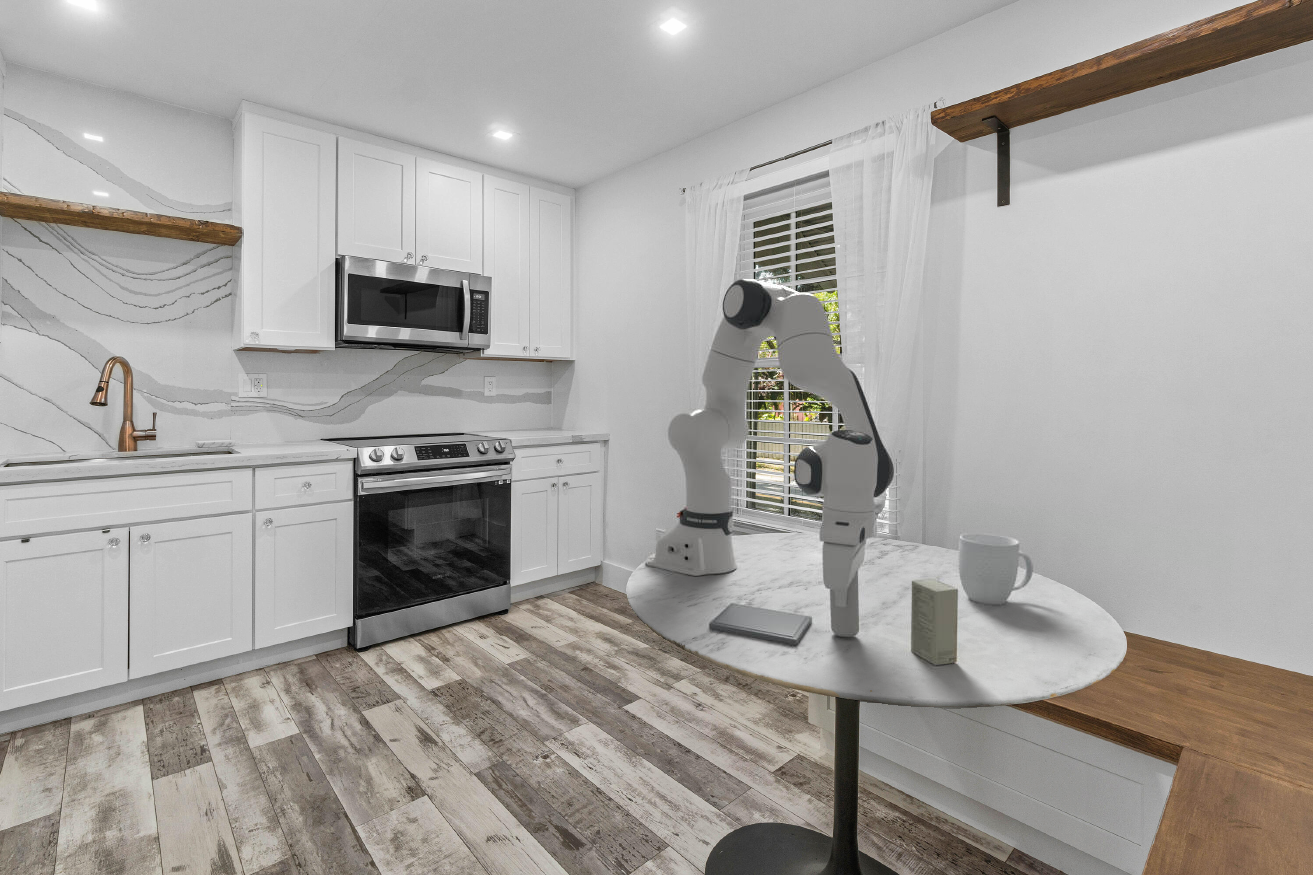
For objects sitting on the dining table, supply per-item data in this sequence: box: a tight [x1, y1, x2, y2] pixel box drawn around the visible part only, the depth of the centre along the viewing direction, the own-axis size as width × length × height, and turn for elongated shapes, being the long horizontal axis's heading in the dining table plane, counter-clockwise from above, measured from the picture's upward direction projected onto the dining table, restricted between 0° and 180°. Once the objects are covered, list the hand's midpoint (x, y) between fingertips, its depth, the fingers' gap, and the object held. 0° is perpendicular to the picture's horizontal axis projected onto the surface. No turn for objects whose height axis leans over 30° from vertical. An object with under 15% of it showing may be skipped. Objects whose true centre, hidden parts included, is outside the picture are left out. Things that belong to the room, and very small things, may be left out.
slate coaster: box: [708, 602, 813, 646], centre depth 113 cm, size 16×12×1 cm
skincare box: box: [910, 578, 959, 666], centre depth 100 cm, size 6×4×12 cm
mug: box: [958, 532, 1034, 606], centre depth 128 cm, size 15×11×13 cm
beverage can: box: [829, 568, 860, 638], centre depth 108 cm, size 5×5×12 cm
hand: (844, 600), depth 108 cm, fingers closed on beverage can, 5 cm apart
